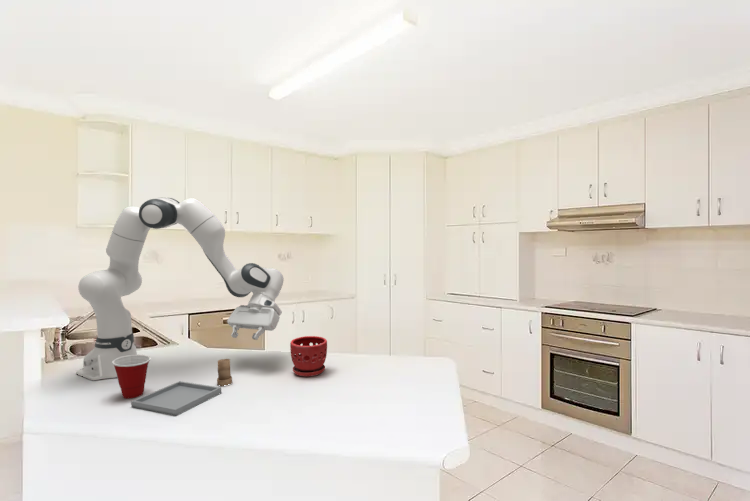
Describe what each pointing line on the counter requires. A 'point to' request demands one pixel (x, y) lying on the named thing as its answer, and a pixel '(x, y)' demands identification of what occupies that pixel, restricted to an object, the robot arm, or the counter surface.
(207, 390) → the grey tray
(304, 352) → the plant pot
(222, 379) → the walnut pestle
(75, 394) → the counter surface
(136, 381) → the plastic cup
